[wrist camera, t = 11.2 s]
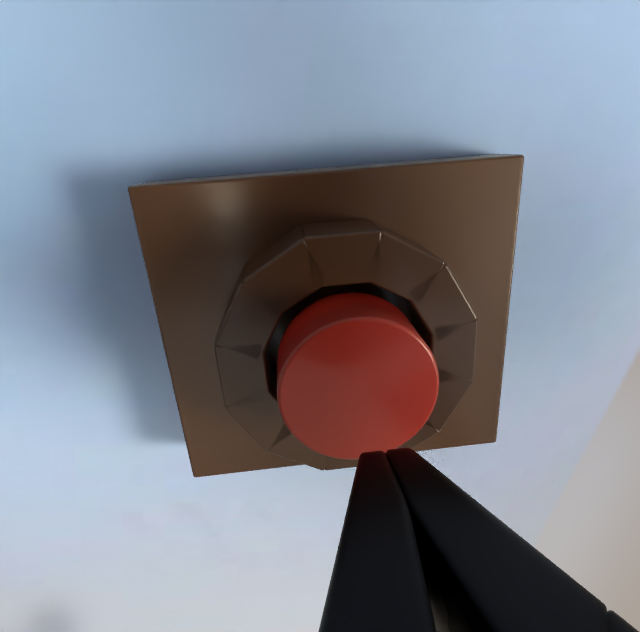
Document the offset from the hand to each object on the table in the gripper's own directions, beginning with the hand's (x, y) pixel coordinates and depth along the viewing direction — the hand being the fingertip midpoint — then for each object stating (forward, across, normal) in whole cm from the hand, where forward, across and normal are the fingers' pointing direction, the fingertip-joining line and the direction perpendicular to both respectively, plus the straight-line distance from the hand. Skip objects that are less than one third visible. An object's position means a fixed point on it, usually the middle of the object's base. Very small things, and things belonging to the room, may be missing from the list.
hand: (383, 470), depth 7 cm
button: (+4, 0, 0) cm, 4 cm away
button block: (+7, 0, 0) cm, 7 cm away
